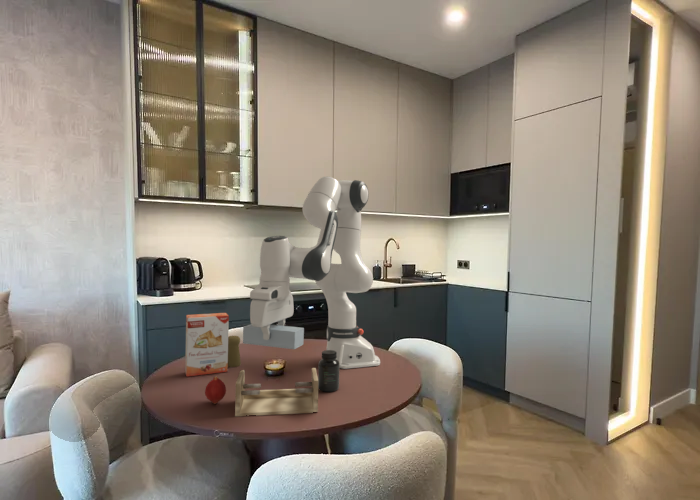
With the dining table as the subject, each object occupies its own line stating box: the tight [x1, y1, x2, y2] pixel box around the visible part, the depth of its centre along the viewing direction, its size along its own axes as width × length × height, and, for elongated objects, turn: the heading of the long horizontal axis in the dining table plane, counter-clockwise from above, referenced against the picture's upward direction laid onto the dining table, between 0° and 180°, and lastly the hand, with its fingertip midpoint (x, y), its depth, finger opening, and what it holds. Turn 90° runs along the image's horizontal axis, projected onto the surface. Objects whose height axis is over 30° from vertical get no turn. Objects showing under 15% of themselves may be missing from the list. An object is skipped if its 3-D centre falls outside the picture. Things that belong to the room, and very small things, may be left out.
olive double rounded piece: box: [228, 335, 242, 368], centre depth 150 cm, size 6×6×11 cm
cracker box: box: [184, 312, 230, 377], centre depth 141 cm, size 14×6×21 cm, turn 118°
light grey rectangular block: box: [242, 323, 305, 350], centre depth 117 cm, size 17×6×5 cm, turn 72°
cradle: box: [234, 367, 319, 417], centre depth 113 cm, size 22×11×9 cm, turn 99°
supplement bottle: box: [317, 350, 340, 393], centre depth 128 cm, size 7×7×12 cm
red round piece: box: [204, 376, 227, 405], centre depth 114 cm, size 6×6×8 cm
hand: (273, 336), depth 117 cm, fingers closed on light grey rectangular block, 6 cm apart
